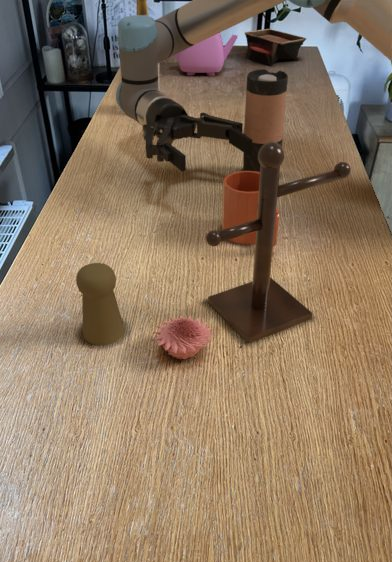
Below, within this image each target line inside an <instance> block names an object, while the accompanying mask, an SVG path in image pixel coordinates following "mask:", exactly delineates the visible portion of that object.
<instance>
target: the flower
mask: <svg viewBox="0 0 392 562" xmlns="http://www.w3.org/2000/svg"><path fill="white" fill-rule="evenodd" d="M169 319H170V320H169V321H168V320H167V321H166V320H165V321H164V320H162V321H161V323H163V325H155V328H157V329H159V330H158V331H154V332H152V334H155V335H157V337H155V338H153V341H159V343H158V345H157V346H158V347H161V346H162V348H163V349H164V351H166V352H168V353H167V355H168V356H169V355H170V356H171V357H172V358H176V359H179V360H182V359H183V360H186V359H189V358H193V357H194V356H196V354H197V353H199V352H200V351H201V350H203V349H205V348H206V346H205V345H206V344H209V343H210V342H211V343H212V340H210V339H211V337H213V336H214V334H213V333H210V332H211V330H212V327H207V324H208V322H207V321H205V322H203V323H201V318H200V317H197V318H196V319H193V318H192V316H191V315H189V316H188V318H187V317H184V316H183V315H180V314H179V318H174V317H171V316H170V317H169Z"/></svg>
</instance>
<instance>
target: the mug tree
mask: <svg viewBox="0 0 392 562" xmlns="http://www.w3.org/2000/svg"><path fill="white" fill-rule="evenodd" d="M258 161H259V163H260V165H261V166H260V181H259V196H258V210H257V220H254V221H250V222H247V223H244V224H240V225H237V226H234V227H230V228H227V229H224V230H222V229H221V230H218V231H217V230H214V229H213V230H209V231H208V232H207V233H206V235H205V242H206V244H207V245H208V246H209V247H217V246H219V245H220V244H221V243H223V242H226V241H229V239H232V238H236V237H239V236H242V235H245V234H248V233H252V232H255V231H256V240H255V244H254V254H253V255H254V257H253V272H252V281H250V282H247V283H244V284H241V285H238V286H235V287H233V288H229V289H227V290H224V291H220V292H218V293H215V294H212V295H209V296H208V297H207V303H208V304H209V305H210V306H211V308H213V310H214V311H216V312H217V313H218V315H219V316H220V317H222V318H223V320H224V321H225V322H226V323H227V324H228V325H229V326H230V327H231V328H232V329H233V330H234V331H235V332H236V333H237V334H238V335H239V336H240V337H241V338H242V339H243V340H244V341H245V342H246V343H247V344H252V343H254V342H256V341H259V340H262V339H264V338H267V337H270V336H271V335H274V334H277V333H280V332H282V331H284V330H287V329H290V328H292V327H295V326H297V325H300V324H302V323H305V322H308V321H310V320H312V319H313V314H314V313H313V312H312V311H311V310H309V309H308V308H307V307H306V306H305V305H304V304H302V303H301V302H300V300H298V299H297V298H295V296H293V295H292V294H291V293H290V292H289V291H287V290H286V289H285V288H284V287H282V286H281V284H279V283H278V282H277V281H275V280H274V279H273V278H272V277H271V274H272V273H271V272H272V262H273V252H274V251H273V250H274V247H273V240H274V229H275V218H276V209H277V207H278V198H280V197H284V196H287V195H291V194H294V193H298V192H300V191H304V190H308V189H311V188H314V187H318V186H322V185H325V184H328V183H332V182H335V181H339V180H344V179H347V178H348V177H349V176H350V174H351V172H352V168H351V165H350V164H349V163H348V162H346V161H339V162H338V163H336V164H335V166H334V168H333V169H332V170H329V171H325V172H321V173H318V174H315V175H310V176H307V177H303V178H300V179H297V180H293V181H290V182H285V183H282V184H280V173H281V166H282V164H283V163H284V161H285V151H284V148H283V146H282V147H281V146H280V145H279V144H278V143H275V142H268V143H266V144H264V145H263V146H262V147H261V148H260V150H259V152H258Z"/></svg>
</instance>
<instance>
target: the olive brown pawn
mask: <svg viewBox="0 0 392 562" xmlns="http://www.w3.org/2000/svg"><path fill="white" fill-rule="evenodd" d="M75 282H76V286H77V290H78V291H79V292H80V294H82V295H81V297H82V298H81V300H82V302H81V303H82V311H81V313H82V336H83V339H84V340H85V341H86V342H87V343H89V344H91V345H95V346H108V345H112V344H114V343H117V342H118V341H120V339H122V338H123V337H124V334H125V326H124V321H123V319H122V315H121V310H120V308H119V305H118V301H117V297H116V294H115V291H114V290H115V288H116V284H117V276H116V273H115V271H114V269H113V268H112V267H111V266H110V265H108V264H106V263H101V262H92V263H89V264H85V265H83V266H82V267H81V268H80V269H78V271H77V273H76V278H75Z"/></svg>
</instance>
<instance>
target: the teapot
mask: <svg viewBox="0 0 392 562" xmlns="http://www.w3.org/2000/svg"><path fill="white" fill-rule="evenodd" d="M238 36H239V35H237V34H231V37H230V38H229V39H228V41H227V42H226V43H225V45H224V42H223V38H222V34H221V32H220V33H218V34H216V35H214V36H212V37H210V38H207V39H205V40H203V41H201V42H199V43H197V44H195V45H193V46H191V47H189V48H187V49H186V50H184V51H182V52H180V53H177V54H175V55H173V56H172V57H174V58H176V59H177V60H178V66H179V69H180V71H181V72H184V73H186V75H188V76H195V75H196V73H197V74H198V73H200V74H201V73H203V74H205V73H206V75H207V76H209V77H211V76H215V75H216V73H219V72H221V70H222V69H223V66H224V64H225V61H226V59H227V57H228V56H229V54H230V53H231V50H232V48H233V47H234V45H235V43H236V41H237V39H238Z"/></svg>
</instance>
